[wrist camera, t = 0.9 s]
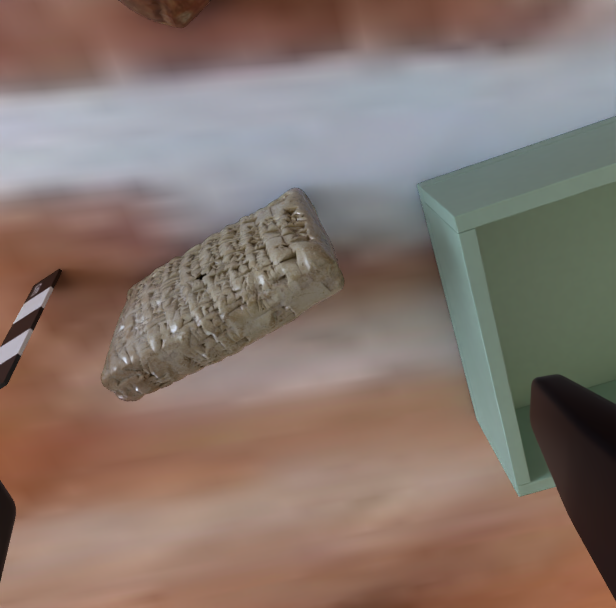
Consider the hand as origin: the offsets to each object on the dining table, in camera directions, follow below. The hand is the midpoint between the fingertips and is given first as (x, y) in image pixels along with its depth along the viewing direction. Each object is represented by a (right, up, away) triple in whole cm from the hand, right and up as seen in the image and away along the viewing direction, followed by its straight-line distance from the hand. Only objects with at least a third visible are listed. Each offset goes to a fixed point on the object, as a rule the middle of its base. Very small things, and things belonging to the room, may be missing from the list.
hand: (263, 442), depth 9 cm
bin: (+12, +4, +15) cm, 20 cm away
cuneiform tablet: (-4, +4, +14) cm, 15 cm away
